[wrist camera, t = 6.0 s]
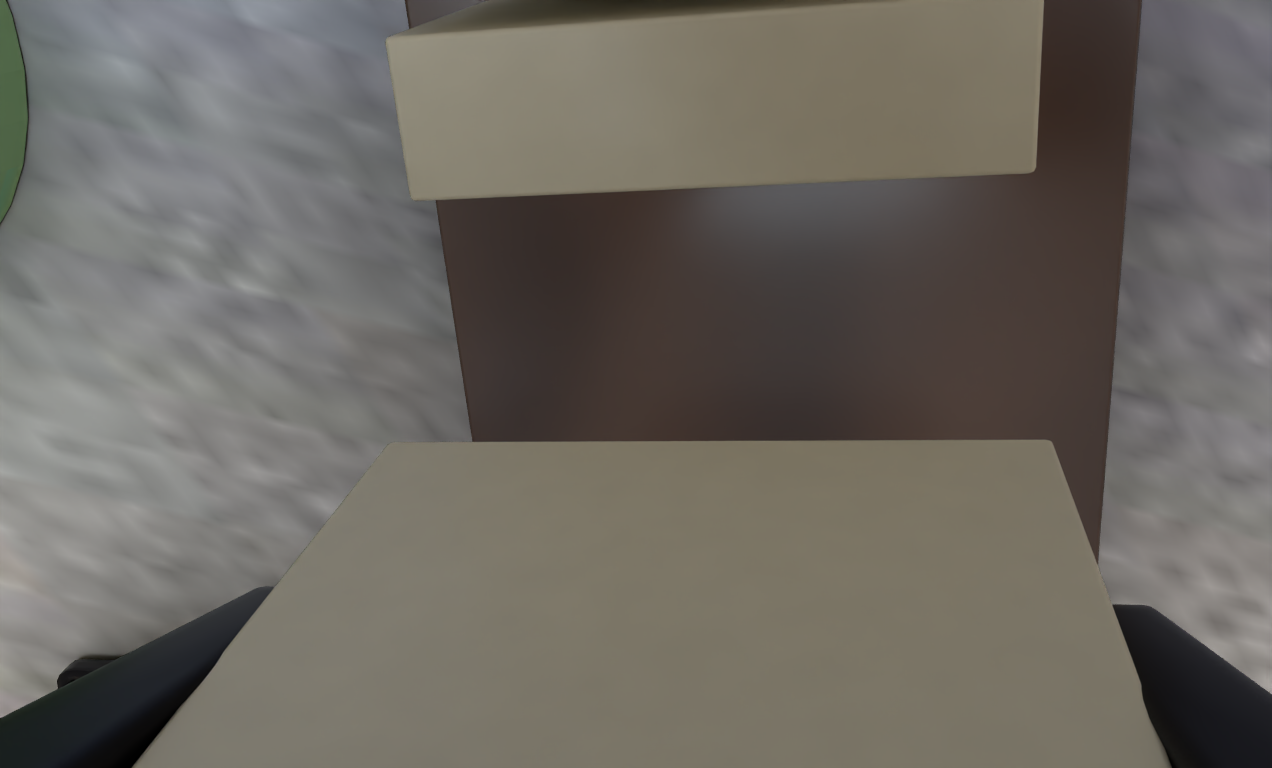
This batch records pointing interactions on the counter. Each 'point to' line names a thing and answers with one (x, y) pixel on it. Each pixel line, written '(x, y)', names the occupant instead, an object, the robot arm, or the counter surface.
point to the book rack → (820, 292)
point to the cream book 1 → (714, 94)
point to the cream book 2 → (684, 616)
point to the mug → (11, 109)
